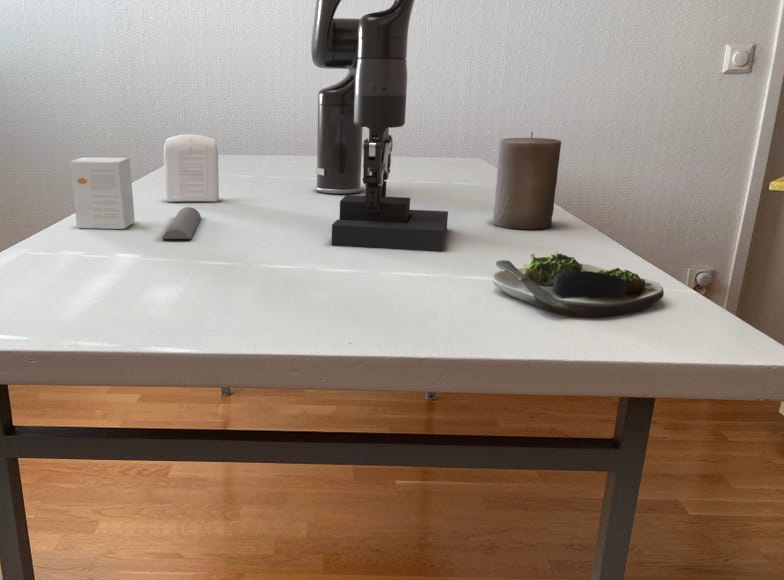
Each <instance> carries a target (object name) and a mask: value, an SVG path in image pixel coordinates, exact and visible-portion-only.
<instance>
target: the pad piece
mask: <svg viewBox="0 0 784 580" xmlns="http://www.w3.org/2000/svg"><path fill="white" fill-rule="evenodd" d="M365 201H366V195H359V194H358V195H357V194H356V195H355V194H345V196H344V197H343V198H342V199H340V201H339V219H338V220H357V221H378V222H398V223H406V222H407V220H408V218H409V210H411V209H410V208H411V197H404V196H403V197H402V196H386V197H382V196H381V207H380V211H379V212H378V213H371V212H366V210H365Z"/></svg>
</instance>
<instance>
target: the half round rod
mask: <svg viewBox="0 0 784 580" xmlns="http://www.w3.org/2000/svg"><path fill="white" fill-rule="evenodd" d="M200 213H201V212H199V211H198V210H197V209H196V208H194V207H191V206H187V207H183V208H181V209H180V210H179V211H178V213H176V215H175V217H174V218H173V219H172V221H171V223H170V224H169V226H168V227H167V228H166V231H165V232H164V234H163V235H162V238H161V239H163V240H191V239H192V237H193V235H194V233H195V232H196V229H197V227H198V225H199V223H200V221H201V218H202V216H201V214H200Z"/></svg>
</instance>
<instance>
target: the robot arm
mask: <svg viewBox="0 0 784 580" xmlns="http://www.w3.org/2000/svg"><path fill="white" fill-rule="evenodd" d="M342 1H343V0H316V2H315V10H314V16H313V23H312V32H311V40H310V54H311V55H310V56H311V61H312V62H313V64H314V66H315V67H317V68H319V69H325V70H326V69H327V70H330V69H332V70H348V72H347V75H346V76H345V77H344V78H342V79H341V80H340V81H338V82H337V83H335V84H332V85H330V86H327V87H324V88H321V89H319V91H318V93H317V135H316V136H317V145H316V147H317V148H316V149H317V150H316V167H315V174H316V186H315V187H316V188H315V191H316V192H318V193H324V194H332V195H351V194H357V193H360V192H361V191H362V184H363V185H364V187H365V196H366V201H365V210H366V212H371V213H378V212H379V211H380V207H381V196H382V197H387V182H388V180H389V177H390V176H389V175H390V173H391V164H392V151H393V147H394V139H393V137H392V135H391V134H389V131H390V128H402V127H404V125H405V124H406V109H407V91H408V90H407V89H408V65H407V64H408V63H407V58H408V37H409V28H410V22H411V17H412V12H413V8H414V3H415V0H393V3H392V5H390V7H389V8H387V9H384V10H380V11H376V12H370V13H366V14H364V15H363V16H362V17H361V18H347V17H346V18H345V17H344V18H343V17H341V18H340V17H339V18H338V17H337V18H336V17H335V18H334V16H335V14H336V12H337V10H338V7H339V6H340V4H341V3H342ZM364 128H367V129H368V134H367V138H366V139H364V140H363V134H364V133H363V132H364V131H363V130H364ZM362 159H363V160H362ZM362 161H363V162H362ZM362 168H363V171H362ZM362 172H363V175H362ZM362 176H363V177H362ZM362 182H363V183H362Z"/></svg>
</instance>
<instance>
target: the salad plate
mask: <svg viewBox="0 0 784 580" xmlns="http://www.w3.org/2000/svg"><path fill="white" fill-rule="evenodd" d="M530 259H531V261H530V262H528V263H524V264H523V268H517V267H516V266H515V265H514V264H513V262H511V261H510V260H506V259H505V260H504V259H502V260H496V263H495V265H496V267H497V268H498V269H499V270H500V271H497V272H495V273H493V275H492V284H493V285H494V286H495V287H497V288H498V289H499V290H501V291H503V292H504V293H506V294H507V295H509V296H511V298H514V299H517V300H519V301H522V302H524V303H525V302H526V303H528V304H530V305H533V306H535V307H537V308H539V309H542V310H545V311H549V312H552V313H555V314H558V315H563V316H569V317H570V316H571V317H579V318H608V317H615V316H622V315H628V314H633V313H639V312H642V311H645V310H647V309H649V308H651V307H652V306H653V305H654V304H655V303H657V302H658V301H660V300H661V299H662V298H664V295H665V291H664V287H663V286H662V285H661V284H660V283H659V282H657V281H654V280H652V279H648V278H642V277H640V276H639V274H637V273H635V272H632V271H631V270H628V269H620V267H616V268H612V269H606V268H602V267H599V266H595V265H591V264H588V263H581V262H579V261H577V259H575V256H568V255H566V254H562V253H559V252H557V251H556V252H555V254H550V256H542V257H541V256H540V257H536V255H535V254H534V253H531V254H530Z"/></svg>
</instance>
